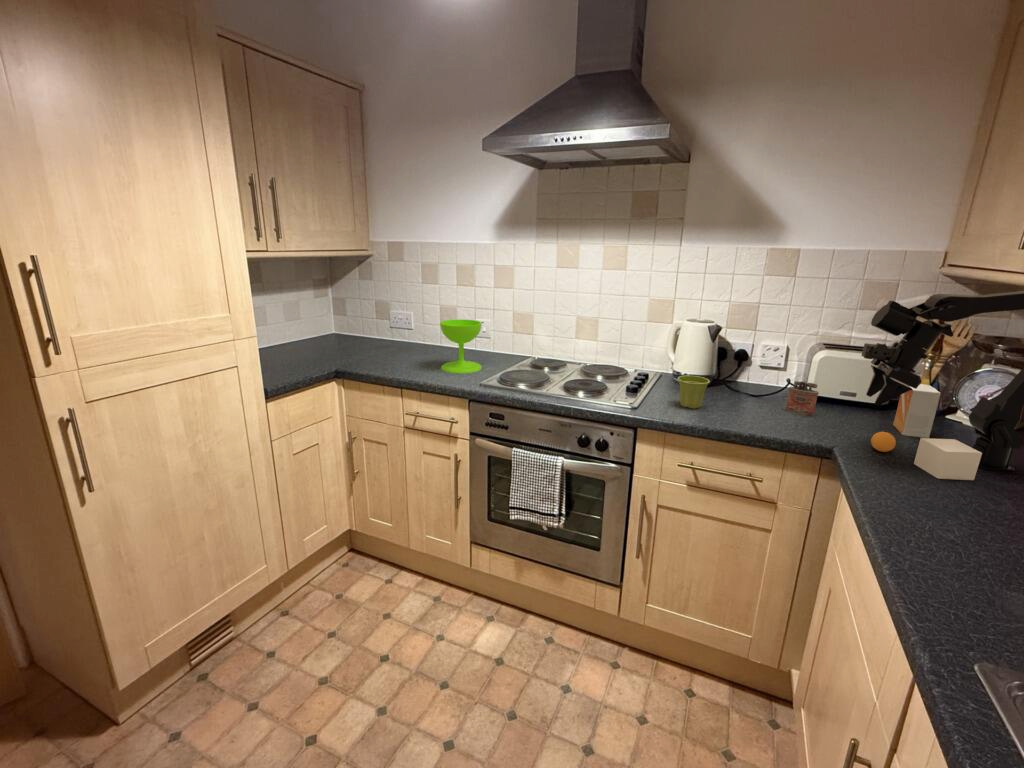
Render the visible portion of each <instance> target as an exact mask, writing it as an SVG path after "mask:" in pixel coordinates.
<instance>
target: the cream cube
mask: <svg viewBox="0 0 1024 768" xmlns="http://www.w3.org/2000/svg"><path fill="white" fill-rule="evenodd" d="M981 455H982V453H981V452H979V451H977V450H975V449H973V447H971V446H969V445H967V444H965V443H963V442H962V441H959V440H957V439H956V438H953V439H952V438H949V439H948V438H930V437H929V438H922V437H920V440H919V442H918V447H917V450H916V453H915V459H914V462H913V464H914V465H915V466H917V467H918V468H920V469H921V470H923V471H925V472H927V473H928V474H929V475H931V476H933V477H935V478H936V479H938V480H960V481H961V480H962V481H975V478H976V474H977V471H978V468H979V466H978V465H979V462H980V459H981Z"/></svg>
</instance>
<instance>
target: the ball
mask: <svg viewBox="0 0 1024 768" xmlns="http://www.w3.org/2000/svg"><path fill="white" fill-rule="evenodd" d="M870 443H871V446H872V448H874V449H875V450H876V451H878V452H883V453H887V452H889V451H892V450H893V449H894V448H895V447H896V445H897V444H896V443H897V441H896V438H895V437H894V435H893V434H891V433H890V432H886V431H879V432H875V433H874V434H873V436H871V439H870Z"/></svg>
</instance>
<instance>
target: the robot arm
mask: <svg viewBox="0 0 1024 768" xmlns="http://www.w3.org/2000/svg"><path fill="white" fill-rule="evenodd" d="M1019 310H1020V311H1021V310H1024V290H1020V291H1008V292H1007V291H1006V292H999V293H998V292H997V293H988V294H980V295H979V294H978V295H972V294H971V295H970V294H968V295H967V294H957V293H956V294H955V293H936V294H933V295H930V296H929V297H928V298H926V300H925V301H924V302H922V303H919V304H917V305H915V306H912V307H909V308H908V307H906V306H903V305H901V303H899V302H897V301H894V300H892V299H890V300H889V301H888V302H887V303H886V304H885V305H883V306H882V307H880V309H879V310H877V311H876V312H875V314H873V316H872V319H871V321H870V325H871V326H873V327H874V328H876V329H879V330H882V331H883V332H886V333H888V334H890V335H892V336H895V337H897V336H900V335H903V336H902V338H901V339H900V341H896V342H895V341H894V343H893V344H892V345H891V346H890V345H887V344H885V343H879V342H877V343H876V344H875V343H864V345H863V348H862V351H861V352H862V353H861V357H863V358H864V359H866V360H867V359H868V360H871V362H870V363H871V365H870V367H871V369H872V372H873V375H872V378H871V380H870V384H869V386H868V388H867V391H866V396H868V397H870V398H871V397H873V396H874V395H876V394H877V393H878V395H877V397H876V399H875V401H874V404H875V405H876V406H878V407H879V406H882V405H884V404H886V403H887V402H890V401H891V400H894V399H895V398H898V397H900V396H901V394H903V393H905V392H907V391H909V390H910V391H911V390H912V388H911V387H913V388H915V389H916V388H917V387H918V386H919V385H920V384H921V383H922V378H921V376H920V375H918V374H917V373H916V370H915V369H916V367H917V366H918V364H919V363H920V362H921V360H926V359H927V358H928V355H927V353H928V352H929V350H930V349H931V347H932V346H933V345H934V344H935V343H936V341H937V340H938V338H939V337H941V336H942V335H944V336H947V337H950V338H953V337H954V333H953V330H952V325H951V324H950V323H949V322H955V321H961V320H963V319H969V318H971V317H972V316H976V315H980V314H985V313H996V312H997V313H999V312H1000V313H1001V312H1009V311H1010V312H1012V311H1019ZM917 318H921V319H923V320H925V321H921V320H918V319H917ZM933 320H936V321H937V320H938V321H940V322H947V323H943V324H940V323H939V322H936V321H933ZM910 386H911V387H910ZM1023 409H1024V366H1023V367H1022V369H1021V370H1020V371H1019V372H1018V373H1017V374H1016V375H1015V376H1014V377H1013V379H1012V380H1011V381H1009V383H1008V384H1007V385H1006V386H1005V388H1004V389H1002V391H1001V392H1000V393H999V394H997V395H996V396H994V397H992V398H990V399H988V398H987V397H985V396H982V397H981V398H980V399H978V401H977V404H976V405H975V406H973V407H972V408H970V409H969V411H970V413H969V416H968V419H969V420H968V421H969V424H970V425H971V426H972V427H973V430H974V433H975V434H976V435H978V436H979V437H976V439H975V443H973V444H972V448H973V449H975V450H977V451H979V452H981V453H982V455H981V459H980V462H979V465H978V467H980V468H982V469H984V470H987V471H989V470H990V471H1008V472H1009V471H1010V472H1015V468H1014V467H1011V466H1010V463H1011V460H1012V457H1013V455H1014V450H1018V449H1020V448H1021V447H1022V446H1023V445H1024V439H1023V437H1022V436H1021V435H1020V434H1019V433H1018V432H1017V431H1016V428H1017V426H1018V424H1019V423H1020V421H1021V419H1022V414H1023Z"/></svg>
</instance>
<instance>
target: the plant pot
mask: <svg viewBox="0 0 1024 768" xmlns="http://www.w3.org/2000/svg"><path fill="white" fill-rule="evenodd" d="M677 381H678V384H679V394H680V395H679V398H680V401H679V403H680V406H682V407H683V408H689V409H699V408H700V407H702V403H703V401H704V396H705V392H706V390H707V389H706V388H707V387H708V384H710V382H711V381H710V380H709V378H706V377H703V376H697V375H680V376H678V377H677Z"/></svg>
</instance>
